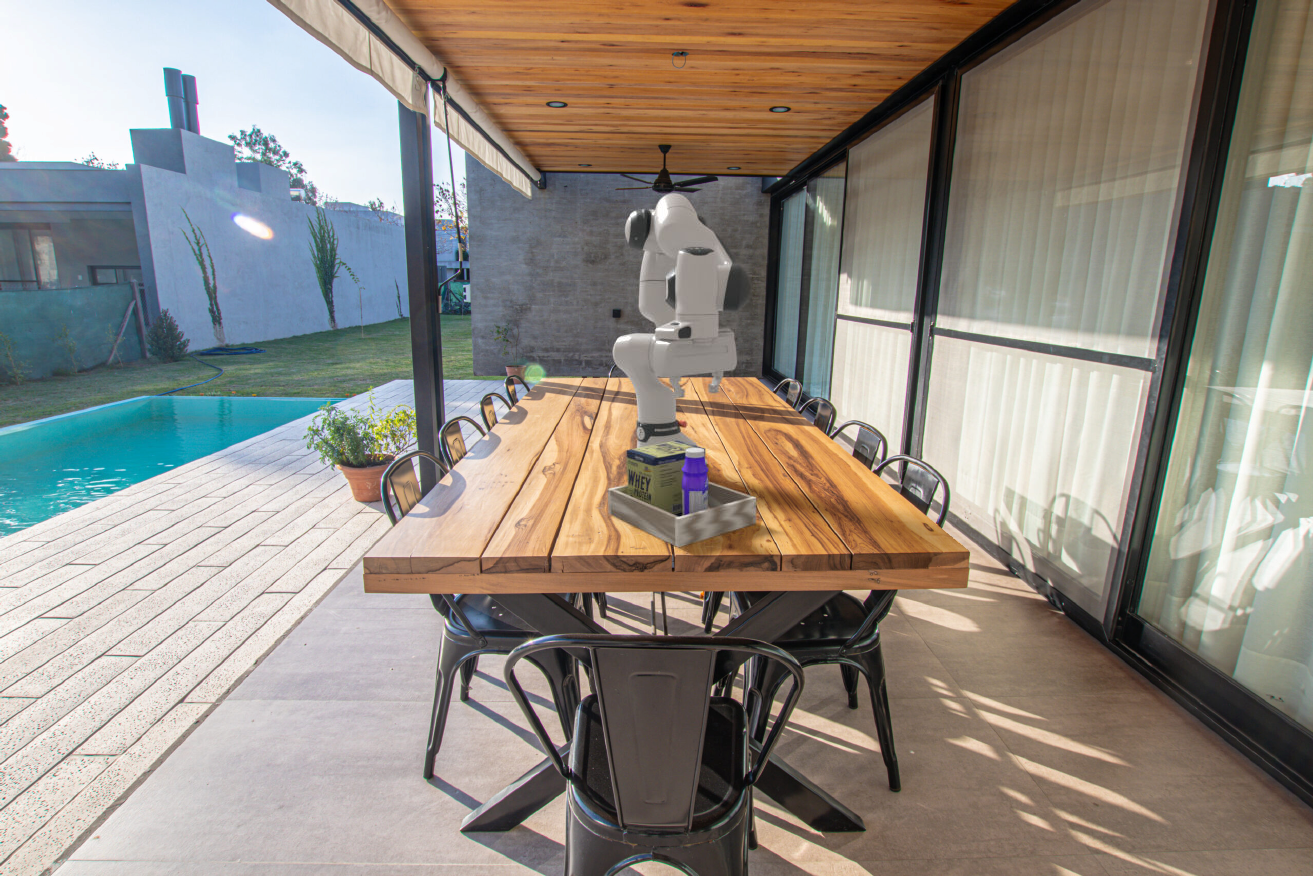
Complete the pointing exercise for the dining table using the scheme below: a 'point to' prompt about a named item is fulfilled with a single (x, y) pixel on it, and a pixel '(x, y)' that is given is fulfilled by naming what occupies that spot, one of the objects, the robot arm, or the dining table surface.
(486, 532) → the dining table surface
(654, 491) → the protein box
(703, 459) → the bottle
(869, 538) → the dining table surface
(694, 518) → the crate
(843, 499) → the dining table surface
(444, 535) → the dining table surface
